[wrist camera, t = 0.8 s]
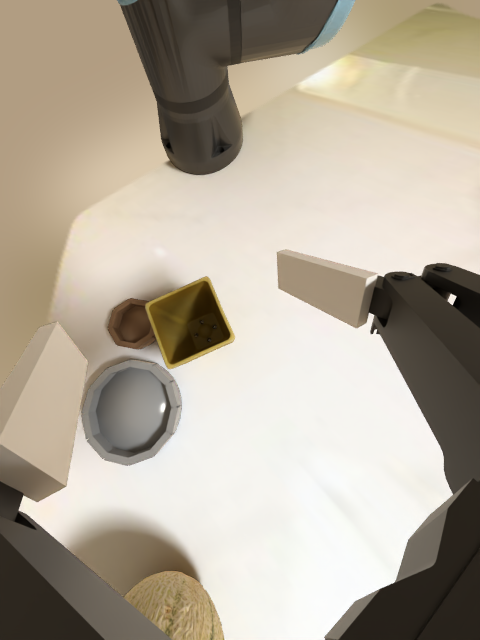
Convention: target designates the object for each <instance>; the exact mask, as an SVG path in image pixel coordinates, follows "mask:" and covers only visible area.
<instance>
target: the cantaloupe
mask: <svg viewBox="0 0 480 640" xmlns="http://www.w3.org/2000/svg"><path fill="white" fill-rule="evenodd" d="M123 598H124V599H126V600H127V601H128V602H129V603H130V604H131V605H133V606H134V607H135V608H136V609H137V610H138V611H140V612H141V613H142V614H143V615H144V616H145V617H147V618H148V619H149V620H150V621H151V622H152V623H154V624H155V625H156V626H157V627H158V628H159V629H160V630H162V631H163V632H164V633H165V634H166V635H167V636H169V637H170V638H171V639H172V640H224V635H223V631H222V625H221V622H220V618H219V617H218V614H217V611H216V609H215V606H214V604H213V602H212V600H211V598H210V596H209V595H208V593H207V591H206V590H204V588H203V586H202V585H201V584H200V583H199V582H198V581H197V580H196V579H194V578H192V577H190V576H187V575H185V574H184V573H182V572H178V571H164V572H160V573H158V574H153V575H151V576H149V577H147V578H145V579H143V580H142V581H141V582H139V583H138V584H136V585H135V586H134V587H133V588H132V589H131V590H130V591H129V592H128V593H127V594H126V595H125V596H124V597H123Z"/></svg>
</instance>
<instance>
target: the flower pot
mask: <svg viewBox="0 0 480 640" xmlns="http://www.w3.org/2000/svg"><path fill="white" fill-rule="evenodd" d="M145 308H146V312H147V314H148V317H149V320H150V323H151V325H152V328H153V331H154V334H155V337H156V339H157V342H158V345H159V348H160V351H161V354H162V357H163V360H164V362H165V364H166V366H167V368H168V369H173V368H175V367H178V366H180V365H183V364H186V363H188V362H190V361H192V360H194V359H196V358H198V357H201V356H203V355H205V354H207V353H209V352H212V351H214V350H216V349H218V348H221V347H223V346H225V345H228V344H230V343H232V342H233V341H234V339H235V335H234V333H233V331H232V329H231V326H230V324H229V322H228V320H227V318H226V316H225V314H224V311H223V309H222V307H221V305H220V302H219V300H218V297H217V295H216V293H215V290H214V288H213V286H212V283H211V280H210V279H209V278H208V277H207V276H206V277H203V278H201V279H199V280H197V281H194V282H192V283H190V284H188V285H186V286H184V287H181V288H179V289H177V290H175V291H172V292H170V293H168V294H166V295H163V296H161V297H159V298H157V299H154V300H152V301H150V302H148V303H146V304H145ZM202 320H203V321H204V323H203V324H201V323H200V321H202ZM214 325H216V328H215V329H214V328H213V326H214ZM196 333H197V334H198V336H197V337H195V334H196ZM209 338H210V339H211V341H210V342H208V339H209Z"/></svg>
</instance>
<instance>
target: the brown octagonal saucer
mask: <svg viewBox="0 0 480 640" xmlns="http://www.w3.org/2000/svg"><path fill="white" fill-rule="evenodd" d="M146 303H148V301H144V300H138V299H132V298H130V299H128V300H126V301H125V302H123V303H122V304H120V305H119V306H117V307H116V308H114V310H113V311H112V314H111V318H110V321H109V325H108V328H109V329H108V331H109V333H110V334H111V336H112V338H113V340H114V342H115V343H116V345H118V346H123V347H128V348H133V349H142V348H144V347H146V346H149V345H150V344H152V343H153V342H154V341H155V340H156V337H155V334H154V331H153V328H152V325H151V323H150V320H149V317H148V314H147V312H146V308H145V304H146Z"/></svg>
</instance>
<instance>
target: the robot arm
mask: <svg viewBox="0 0 480 640" xmlns="http://www.w3.org/2000/svg"><path fill="white" fill-rule="evenodd" d="M354 2H355V0H118V3H119V4H120V6H121V8H122V11H123V14H124V16H125V19H126V21H127V24H128V27H129V30H130V32H131V35H132V38H133V40H134V43H135V45H136V48H137V51H138V53H139V56H140V59H141V61H142V64H143V66H144V69H145V72H146V74H147V77H148V80H149V82H150V85H151V87H152V89H153V92H154V95H155V98H156V101H157V107H158V115H159V124H160V132H161V140H162V143H163V146H164V148H165V151H166V153H167V156H168V158H169V159H170V161H171V162H172V163H173V164H174V165H175V166H176V167H177V168H179V169H180V170H182V171H185V172H188V173H192V174H208V173H213V172H216V171H218V170H220V169H222V168H224V167H226V166H227V165H229V164H230V163H231V162H232V161H233V160H234V159H235V158H236V156H237V155H238V153H239V151H240V149H241V146H242V142H243V132H242V121H241V117H240V115H239V111H238V109H237V106H236V103H235V100H234V97H233V94H232V91H231V89H230V85H229V80H228V70H227V66H228V65H234V64H239V63H244V62H249V61H256V60H262V59H268V58H273V57H280V56H285V55H291V54H300V53H302V54H303V53H305V52H307V51H308V50H310V49H314V48H317V47H320V46H323V45H325V44H326V43H328V42H329V41H330V40H332V39H333V38H334V36H335V35H336V34H337V33H338V31H339V30H340V29H341V27H342V26H343V24H344V22H345V20H346V19H347V17H348V14H349V13H350V11H351V9H352V7H353V4H354ZM277 267H278V288H279V289H281V290H283V291H285V292H287V293H289V294H290V295H292V296H294V297H296V298H298V299H300V300H302V301H304V302H306V303H308V304H310V305H312V306H314V307H316V308H318V309H320V310H322V311H324V312H326V313H327V314H329V315H331V316H333V317H335V318H337V319H339V320H341V321H343V322H345V323H347V324H349V325H351V326H353V327H355V328H358V327H360V326H362V325H364V324H365V323H367V318H368V314H369V313H371V314H374V319H373V323H372V327H371V331H370V333H371V334H373V332H374V330H375V329H377V333H376V334H380V335H381V337H382V339H383V341H384V342H385V344H386V346H387V348H388V350H389V352H390V354H391V355H392V357H393V359H394V361H395V363H396V365H397V367H398V368H399V370H400V372H401V374H402V376H403V378H404V380H405V382H406V383H407V385H408V387H409V389H410V391H411V393H412V395H413V396H414V398H415V400H416V402H417V404H418V406H419V408H420V409H421V411H422V413H423V415H424V417H425V419H426V421H427V423H428V424H429V426H430V428H431V430H432V432H433V434H434V436H435V437H436V439H437V441H438V443H439V445H440V447H441V449H442V451H443V455H444V472H445V476H446V480H447V482H448V484H449V487H450V489H451V491H452V493H453V496H451V497H450V498H449V499H448V500H447V501H446V502H444V503H443V504H442V505H441V506H440V507H439V508H437V509H436V510H435V511H434V512H433V513H432V514H430V515H429V516H428V518H427V519H426V520H425V521H424V522H423V523H422V525H421V526H420V527H419V528H418V529H417V530H416V532H415V533H414V534H413V535H412V536H411V537H410V538H409V540H408V542H407V546H406V549H405V552H404V556H403V559H402V562H401V566H400V569H399V572H398V575H397V579H396V581H395V583H393V584H390V585H388V586H386V587H384V588H381V589H379V590H377V591H375V592H373V593H371V594H369V595H367V596H365V597H363V598H361V599H359V600H357V601H355V602H354V603H353V605H352V606H351V607H350V608H349V609H348V610H347V612H346V613H345V614H344V615H343V616H342V617H341V618H340V620H339V621H338V622H337V623H336V624H335V625H334V627H333V628H332V629H331V630H330V631H329V632H328V634H327V635H326V636H325V637H324V638H325V640H480V275H478V274H475V273H473V272H470V271H467V270H464V269H462V268H459V267H456V266H452V265H449V264H445V263H436V264H430V265H427V266H425V268H424V270H423V273H422V276H416V275H414V274H412V273H407V272H390V273H387V274H386V275H385V276H384V277H382V276H378V273H374V272H370V271H366V270H362V269H359V268H355V267H351V266H347V265H343V264H340V263H336V262H332V261H328V260H324V259H320V258H317V257H313V256H309V255H305V254H301V253H298V252H294V251H290V250H286V249H285V250H282V251H279V252H277ZM450 294H453V295H455V296H457V297H456V299H455V302H454V304H453V306H452V305H451V304H450V303H449V302H448V298H449V296H450ZM87 366H88V361H87V359H86V358H85V357H84V355H83V354H82V353H81V352H80V350H79V349H78V348H77V346H76V345H75V344H74V342H73V341H72V340H71V338H70V337H69V336H68V334H67V333H66V332H65V330H64V329H63V328H62V326H61V325H60V324H59V323H58V321H57V322H54V323H51V324H48V325H44V326H41V327H39V328H38V330H37V331H36V333H35V334H34V336H33V337H32V339H31V341H30V342H29V344H28V346H27V347H26V349H25V350H24V352H23V353H22V355H21V357H20V358H19V360H18V361H17V363H16V365H15V366H14V368H13V370H12V371H11V373H10V374H9V376H8V378H7V379H6V381H5V382H4V384H3V385H2V387H1V389H0V640H172V639H171V638H170V637H169V636H167V635H166V634H165V633H164V632H163V631H162V630H160V629H159V628H158V627H157V626H156V625H155V624H154V623H152V622H151V621H150V620H149V619H148V618H147V617H145V616H144V615H143V614H142V613H141V612H140V611H138V610H137V609H136V608H135V607H134V606H133V605H131V604H130V603H129V602H128V601H127V600H126V599H124V598H123V597H122V596H121V595H120V594H119V593H117V592H116V591H115V590H114V589H113V588H112V587H111V586H109V585H108V584H107V583H106V582H105V581H104V580H102V579H101V578H100V577H99V576H98V575H97V574H95V573H94V572H93V571H92V570H91V569H90V568H88V567H87V566H86V565H85V564H84V563H83V562H81V561H80V560H79V559H78V558H77V557H76V556H74V555H73V554H72V553H71V552H70V551H69V550H68V549H66V548H65V547H64V546H63V545H62V544H61V543H59V542H58V541H57V540H56V539H55V538H54V537H52V536H51V535H50V534H49V533H48V532H47V531H45V530H44V529H43V528H42V527H41V526H40V525H38V524H37V523H36V522H35V521H34V520H33V519H31V518H30V517H29V516H28V515H27V514H25V513H23V512H20V511H18V510H19V507H20V504H21V501H22V497H23V495H24V496H26V497H28V498H30V499H32V500H34V501H36V502H39V501H40V500H42V499H44V498H46V497H48V496H50V495H51V494H53V493H55V492H57V491H59V490H61V489H62V488H64V487H66V486H67V480H68V474H69V469H70V463H71V457H72V451H73V446H74V440H75V434H76V429H77V423H78V417H79V412H80V406H81V400H82V394H83V389H84V383H85V377H86V372H87Z"/></svg>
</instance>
